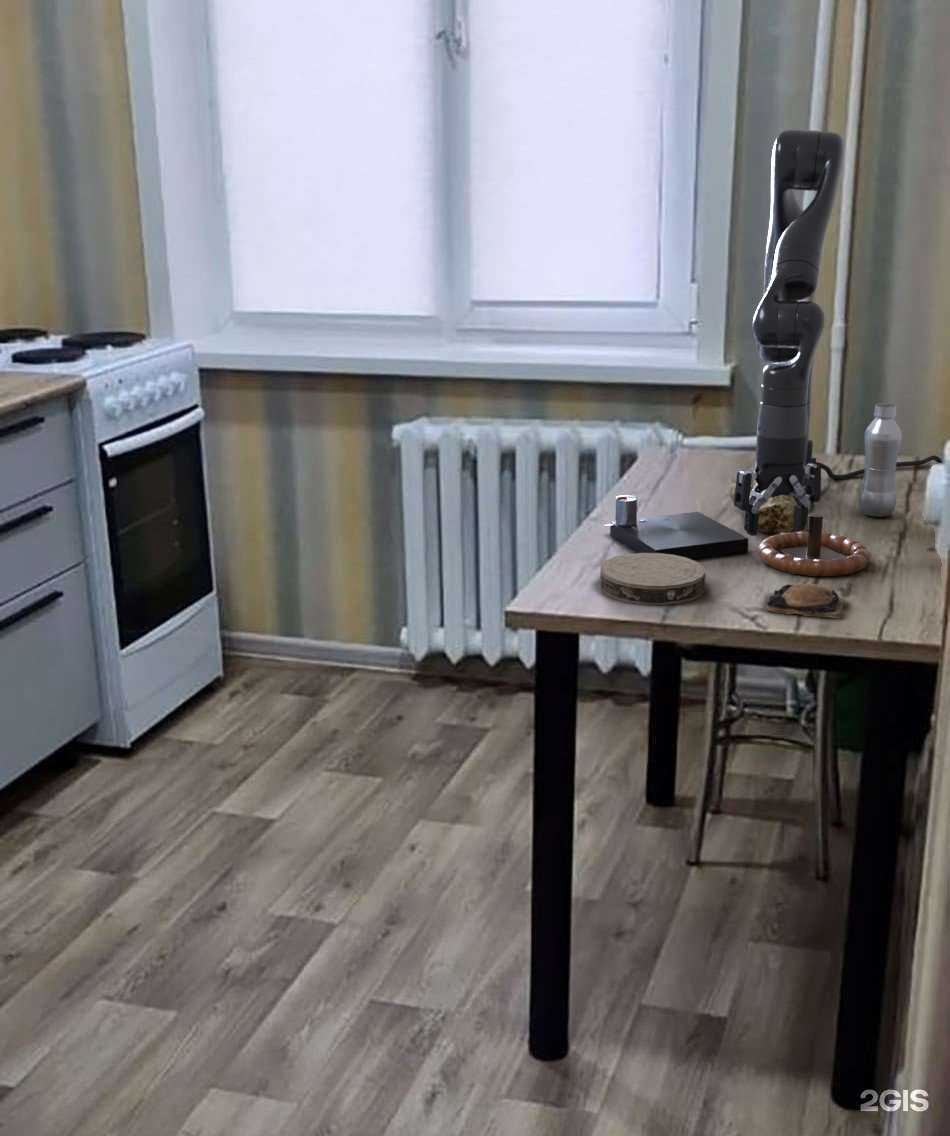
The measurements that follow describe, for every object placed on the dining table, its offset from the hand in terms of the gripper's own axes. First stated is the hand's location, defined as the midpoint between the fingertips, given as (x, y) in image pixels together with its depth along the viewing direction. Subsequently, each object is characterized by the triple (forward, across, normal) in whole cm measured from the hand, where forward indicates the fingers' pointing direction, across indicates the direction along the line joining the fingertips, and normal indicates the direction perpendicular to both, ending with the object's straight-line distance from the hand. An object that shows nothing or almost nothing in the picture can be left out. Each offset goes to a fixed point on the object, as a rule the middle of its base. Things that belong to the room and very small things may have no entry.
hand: (775, 531), depth 216 cm
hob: (+6, -9, +17) cm, 20 cm away
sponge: (+6, +12, +23) cm, 27 cm away
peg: (+6, +8, 0) cm, 9 cm away
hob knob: (+3, -15, +23) cm, 27 cm away
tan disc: (+6, -22, -2) cm, 23 cm away
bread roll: (+6, -6, -18) cm, 20 cm away
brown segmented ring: (+4, +8, 0) cm, 9 cm away
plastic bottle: (+6, +32, +18) cm, 38 cm away
